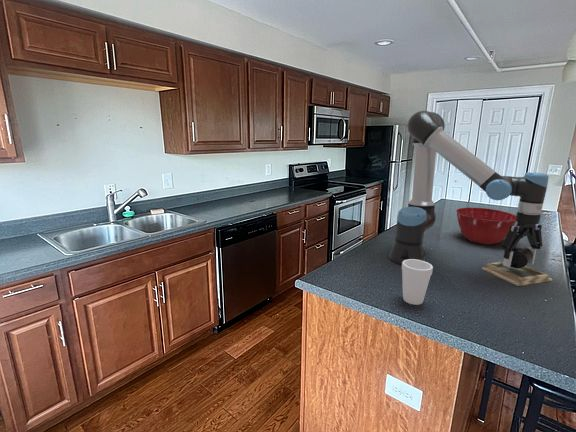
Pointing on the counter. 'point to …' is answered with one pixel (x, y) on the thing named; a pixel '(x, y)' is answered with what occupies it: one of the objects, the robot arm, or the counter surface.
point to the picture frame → (516, 274)
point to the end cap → (520, 257)
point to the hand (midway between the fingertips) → (518, 264)
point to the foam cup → (415, 280)
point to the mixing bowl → (484, 224)
